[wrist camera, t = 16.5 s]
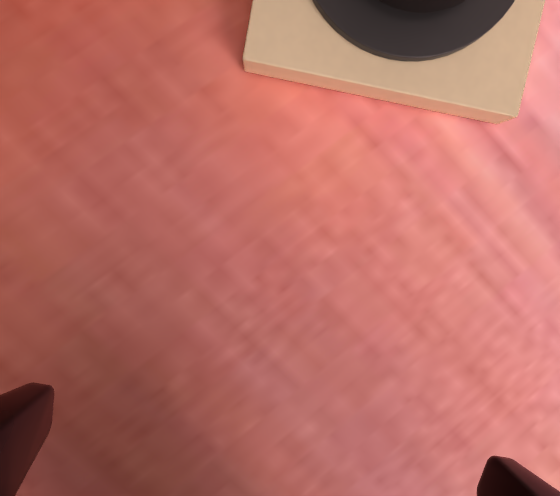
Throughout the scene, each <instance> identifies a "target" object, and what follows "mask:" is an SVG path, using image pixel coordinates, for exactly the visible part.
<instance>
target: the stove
mask: <svg viewBox="0 0 560 496" xmlns="http://www.w3.org/2000/svg"><path fill="white" fill-rule="evenodd" d="M544 3H545V0H466V1H464V2H462V3H460V4H458V5H456V6H454V7H451V8H448V9H445V10H442V11H437V12H431V13H413V12H406V11H402V10H399V9H395V8H393V7H390V6H388V5H386V4H384V3H383V2H381V1H379V0H253V1H252V7H251V12H250V18H249V24H248V29H247V35H246V41H245V46H244V52H243V65H244V71H246V72H250V73H255V74H260V75H264V76H269V77H274V78H279V79H284V80H288V81H293V82H298V83H303V84H307V85H312V86H317V87H322V88H326V89H331V90H336V91H341V92H346V93H350V94H355V95H360V96H365V97H369V98H374V99H379V100H384V101H389V102H393V103H398V104H403V105H408V106H412V107H417V108H422V109H427V110H432V111H436V112H441V113H446V114H451V115H455V116H460V117H465V118H470V119H475V120H479V121H484V122H489V123H494V124H499V123H502V122H505V121H508V120H510V119H513V118H516V117H517V116H518V112H519V108H520V104H521V100H522V96H523V91H524V87H525V83H526V79H527V75H528V70H529V66H530V62H531V58H532V53H533V49H534V45H535V41H536V37H537V32H538V28H539V24H540V20H541V16H542V11H543V7H544Z"/></svg>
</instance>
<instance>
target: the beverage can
mask: <svg viewBox="0 0 560 496" xmlns="http://www.w3.org/2000/svg"><path fill="white" fill-rule="evenodd" d="M379 1H381V2H383V3H384V4H386V5H388V6H390V7H393V8H395V9H399V10H402V11H406V12H413V13H431V12H437V11H442V10H445V9H448V8H451V7H454V6H456V5H458V4H460V3H462V2H464V1H466V0H379Z"/></svg>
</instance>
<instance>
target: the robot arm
mask: <svg viewBox="0 0 560 496" xmlns="http://www.w3.org/2000/svg"><path fill="white" fill-rule="evenodd" d="M53 403H54V388H53V387H52V386H51V385H46V384H39V383H29V384H26V385H24V386H21V387H19V388H16V389H14V390H12V391H9V392H7V393H4V394H2V395H0V496H15V495H16V493H17V491H18V489H19V487H20V485H21V484H22V482H23V480H24V478H25V476H26V474H27V472H28V471H29V469H30V467H31V465H32V463H33V461H34V460H35V458H36V456H37V454H38V452H39V450H40V449H41V447H42V445H43V443H44V441H45V439H46V437H47V436H48V433H49V431H50V428H51V424H52V416H53ZM477 496H560V492H559V491H558V490H556V489H555V488H553V487H552V486H551V485H549V484H548V483H546V482H545V481H543V480H542V479H540V478H539V477H538V476H536V475H535V474H533V473H532V472H530V471H529V470H527V469H526V468H525V467H523V466H522V465H520V464H519V463H517V462H516V461H514V460H513V459H510V458H506V457H500V456H491V457H490V458H489V459H488V460H487V463H486V465H485V468H484V470H483V473H482V476H481V478H480V481H479V483H478V486H477Z"/></svg>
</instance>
